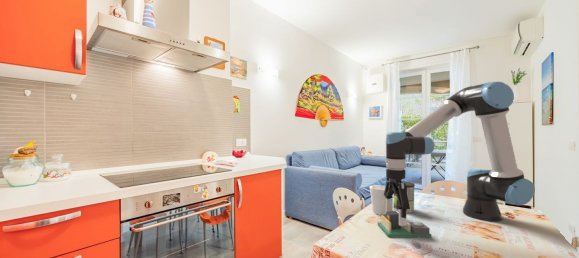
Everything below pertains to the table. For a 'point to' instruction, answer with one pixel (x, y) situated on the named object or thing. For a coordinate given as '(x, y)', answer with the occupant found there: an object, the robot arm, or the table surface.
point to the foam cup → (378, 199)
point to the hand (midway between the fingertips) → (395, 219)
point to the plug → (393, 219)
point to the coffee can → (410, 197)
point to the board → (405, 229)
